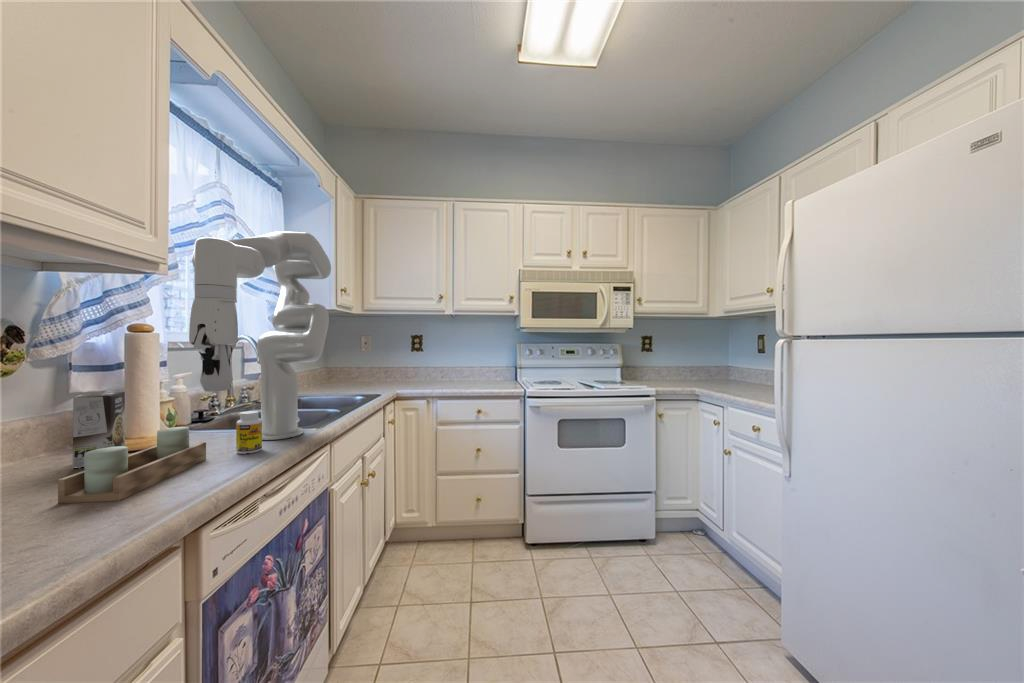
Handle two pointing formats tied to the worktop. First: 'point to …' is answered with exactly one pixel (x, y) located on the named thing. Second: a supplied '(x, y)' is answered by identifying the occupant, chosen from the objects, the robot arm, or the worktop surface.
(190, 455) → the spice rail
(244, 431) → the supplement bottle
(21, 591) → the worktop surface
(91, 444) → the coffee box
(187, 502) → the worktop surface
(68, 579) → the worktop surface
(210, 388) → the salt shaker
